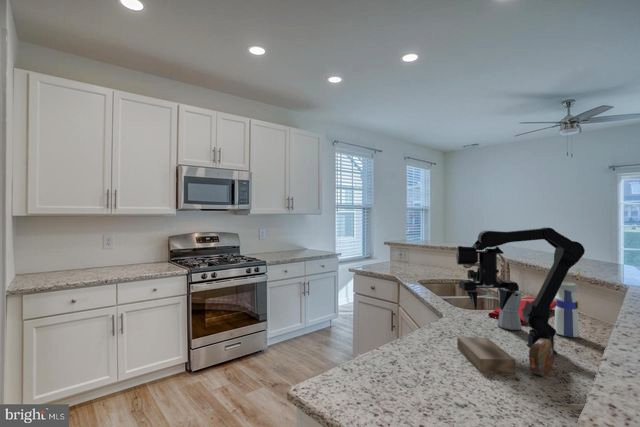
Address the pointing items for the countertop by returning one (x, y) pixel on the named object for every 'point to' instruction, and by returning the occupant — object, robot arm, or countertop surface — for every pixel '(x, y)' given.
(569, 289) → the water bottle
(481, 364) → the walnut plinth
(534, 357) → the tin
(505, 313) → the coffee maker
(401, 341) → the countertop surface
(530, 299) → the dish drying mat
